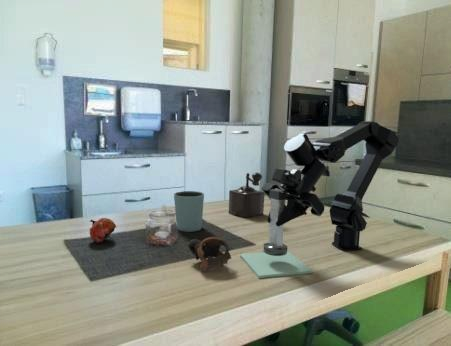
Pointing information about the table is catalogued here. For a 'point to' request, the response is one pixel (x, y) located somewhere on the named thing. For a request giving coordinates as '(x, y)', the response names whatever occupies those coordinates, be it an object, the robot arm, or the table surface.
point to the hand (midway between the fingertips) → (272, 223)
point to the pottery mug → (210, 252)
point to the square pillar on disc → (275, 232)
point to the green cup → (189, 210)
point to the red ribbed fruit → (101, 229)
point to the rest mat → (274, 265)
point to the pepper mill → (247, 199)
